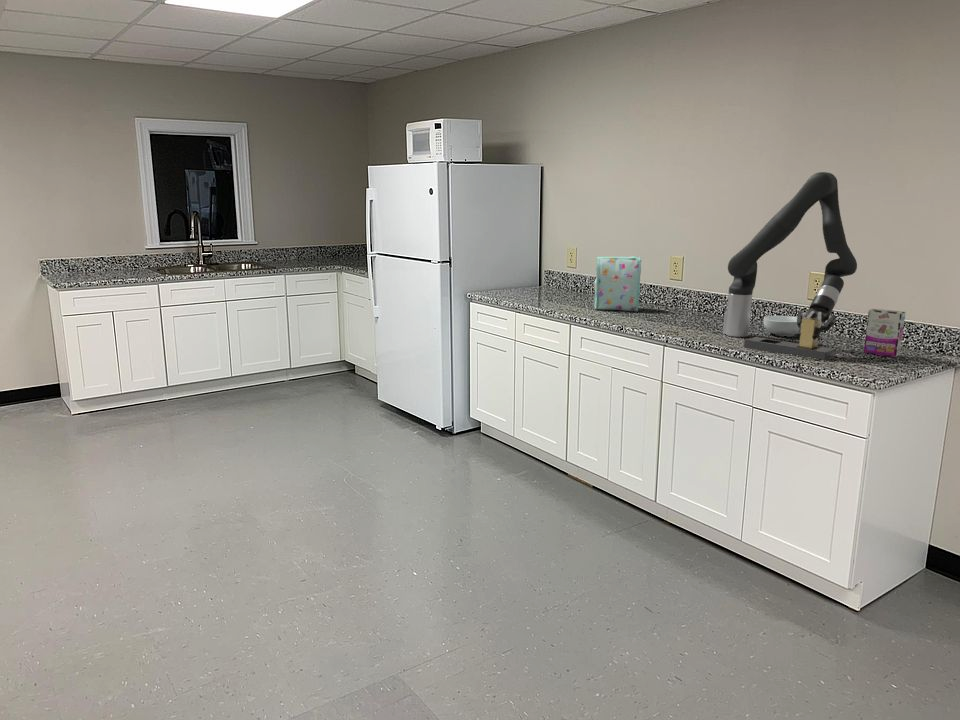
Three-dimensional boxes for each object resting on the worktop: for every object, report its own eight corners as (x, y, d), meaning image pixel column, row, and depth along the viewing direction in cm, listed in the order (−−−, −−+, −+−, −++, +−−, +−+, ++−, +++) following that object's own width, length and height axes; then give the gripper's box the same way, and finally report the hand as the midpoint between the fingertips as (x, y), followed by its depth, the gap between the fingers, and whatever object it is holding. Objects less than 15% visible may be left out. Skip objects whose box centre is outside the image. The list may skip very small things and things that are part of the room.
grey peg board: (743, 347, 279) (744, 339, 278) (755, 344, 285) (755, 337, 284) (824, 360, 258) (825, 352, 257) (834, 357, 264) (835, 349, 263)
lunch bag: (637, 307, 380) (641, 255, 374) (640, 312, 364) (643, 257, 358) (593, 306, 383) (595, 253, 377) (593, 310, 367) (595, 256, 362)
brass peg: (798, 351, 266) (802, 318, 264) (803, 349, 269) (807, 317, 267) (810, 353, 263) (814, 320, 261) (816, 351, 266) (820, 319, 264)
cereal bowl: (770, 330, 319) (771, 314, 318) (810, 335, 309) (812, 318, 307) (756, 335, 306) (758, 318, 305) (797, 340, 296) (799, 323, 295)
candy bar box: (900, 356, 268) (906, 311, 265) (895, 358, 265) (902, 312, 261) (867, 351, 276) (873, 308, 273) (862, 353, 273) (868, 309, 269)
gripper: (802, 292, 272) (784, 327, 266) (842, 296, 262) (824, 333, 256) (807, 305, 277) (789, 340, 271) (847, 309, 266) (829, 346, 261)
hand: (806, 336), depth 264 cm, fingers closed on brass peg, 4 cm apart
